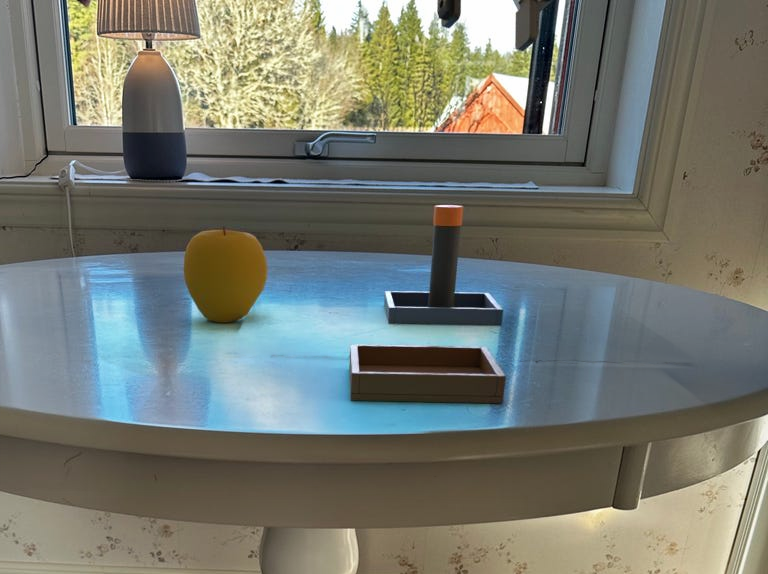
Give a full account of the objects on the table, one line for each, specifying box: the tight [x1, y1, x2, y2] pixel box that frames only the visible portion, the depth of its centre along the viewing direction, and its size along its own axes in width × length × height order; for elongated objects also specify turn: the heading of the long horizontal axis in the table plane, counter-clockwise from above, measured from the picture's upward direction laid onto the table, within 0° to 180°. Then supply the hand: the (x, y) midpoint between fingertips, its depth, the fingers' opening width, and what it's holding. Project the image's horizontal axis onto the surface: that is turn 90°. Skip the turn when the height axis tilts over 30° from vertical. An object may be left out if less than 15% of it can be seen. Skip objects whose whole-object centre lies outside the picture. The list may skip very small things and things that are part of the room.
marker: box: [428, 204, 464, 308], centre depth 96 cm, size 3×3×10 cm
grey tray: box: [383, 290, 504, 327], centre depth 99 cm, size 11×10×2 cm
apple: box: [183, 226, 268, 324], centre depth 96 cm, size 8×8×9 cm
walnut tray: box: [348, 343, 507, 404], centre depth 74 cm, size 11×10×2 cm
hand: (489, 35), depth 90 cm, fingers open, 8 cm apart
